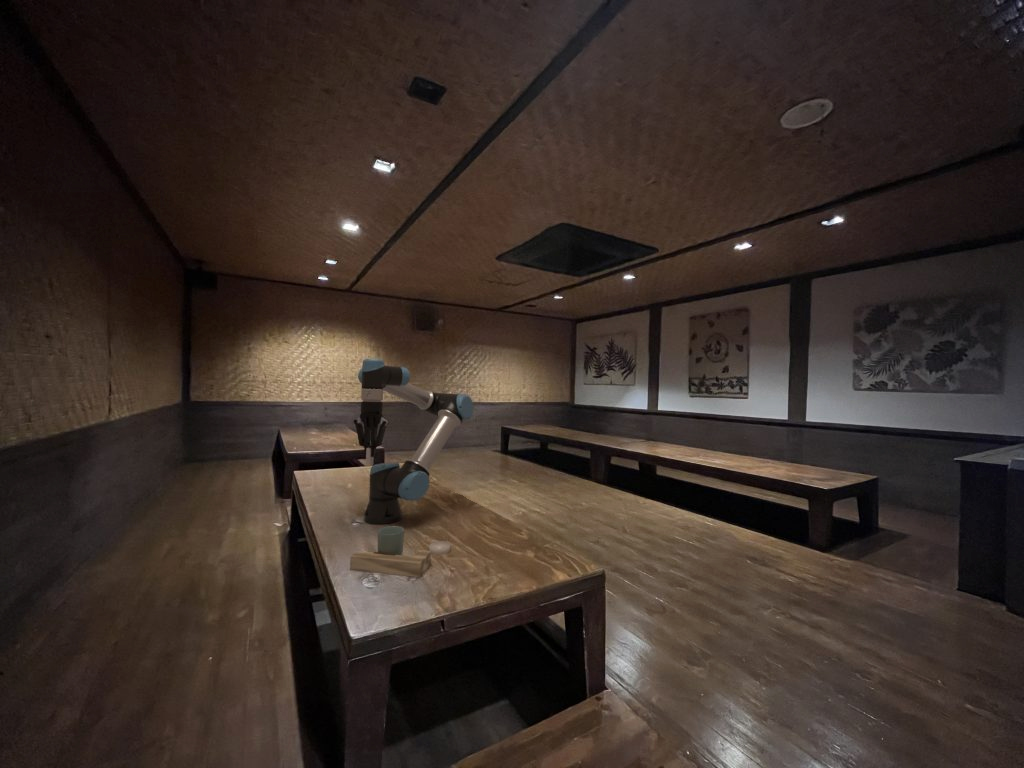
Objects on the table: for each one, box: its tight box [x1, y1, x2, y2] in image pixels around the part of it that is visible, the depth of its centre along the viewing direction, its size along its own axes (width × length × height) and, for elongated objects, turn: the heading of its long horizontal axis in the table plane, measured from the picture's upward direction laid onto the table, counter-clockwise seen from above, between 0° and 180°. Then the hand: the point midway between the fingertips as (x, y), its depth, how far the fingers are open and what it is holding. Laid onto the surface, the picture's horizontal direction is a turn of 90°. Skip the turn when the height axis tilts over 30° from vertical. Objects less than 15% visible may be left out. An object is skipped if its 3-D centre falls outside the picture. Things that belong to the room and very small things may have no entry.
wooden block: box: [349, 549, 432, 578], centre depth 121 cm, size 9×22×4 cm, turn 81°
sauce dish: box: [428, 540, 451, 555], centre depth 135 cm, size 7×7×2 cm
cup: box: [377, 525, 405, 556], centre depth 125 cm, size 8×8×10 cm
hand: (369, 465), depth 144 cm, fingers closed
